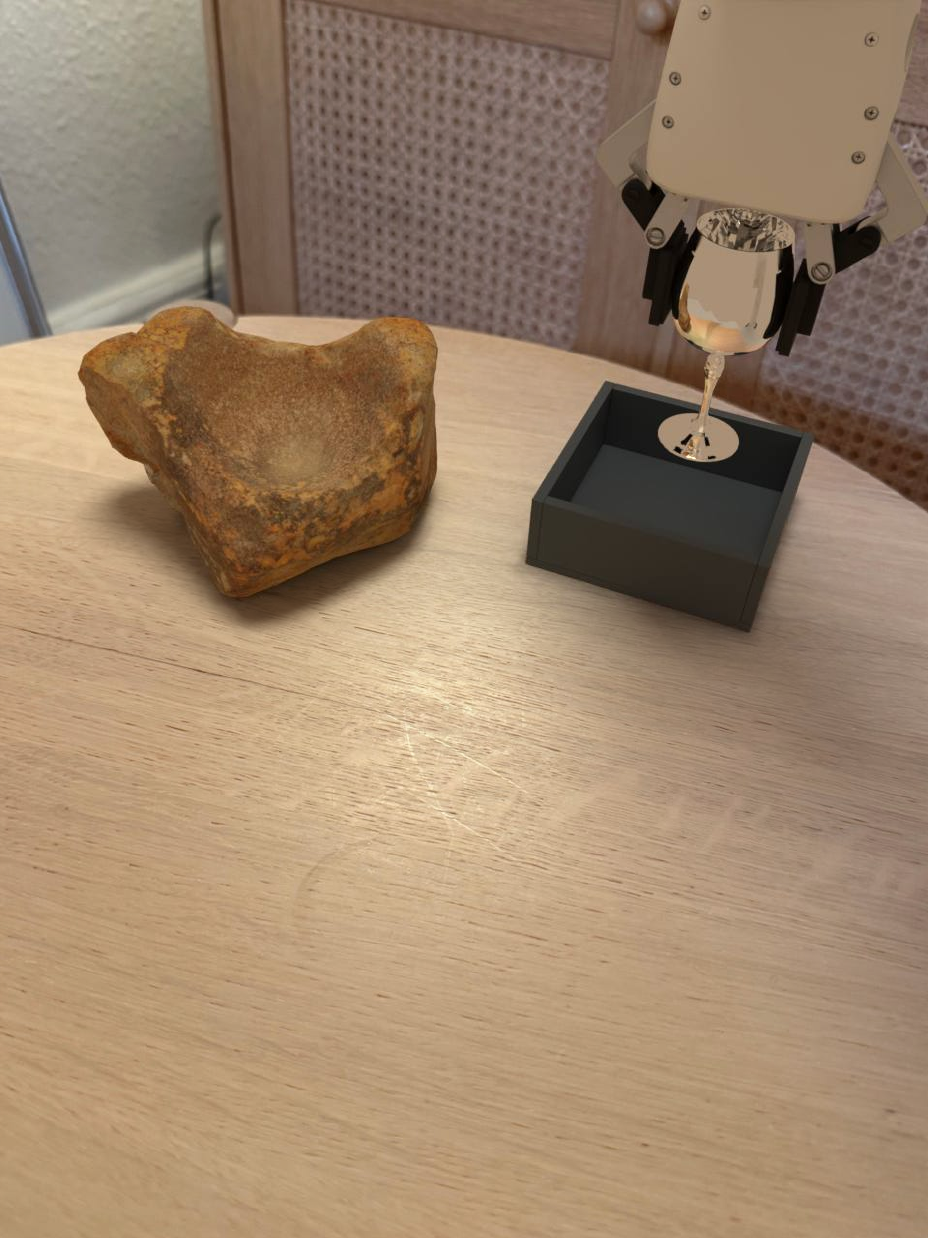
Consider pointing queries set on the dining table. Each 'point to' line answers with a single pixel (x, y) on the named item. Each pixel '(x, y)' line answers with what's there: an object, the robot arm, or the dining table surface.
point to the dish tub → (667, 507)
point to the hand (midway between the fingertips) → (723, 324)
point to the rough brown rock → (273, 436)
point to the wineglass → (727, 311)
